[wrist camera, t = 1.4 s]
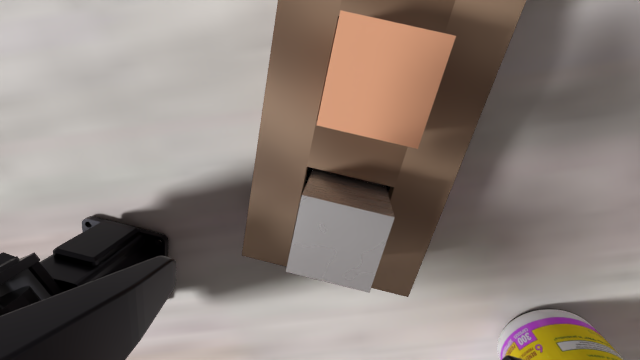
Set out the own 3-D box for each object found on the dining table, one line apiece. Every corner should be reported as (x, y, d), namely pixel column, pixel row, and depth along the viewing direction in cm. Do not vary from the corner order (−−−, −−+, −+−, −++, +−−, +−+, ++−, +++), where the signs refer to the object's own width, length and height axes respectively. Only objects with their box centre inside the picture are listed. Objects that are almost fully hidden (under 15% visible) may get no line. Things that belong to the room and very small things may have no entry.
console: (398, 257, 21) (408, 297, 17) (261, 223, 21) (241, 255, 17) (544, -146, 13) (619, -233, 10) (328, -189, 14) (319, -290, 10)
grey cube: (366, 248, 17) (369, 292, 14) (299, 232, 17) (285, 271, 14) (385, 185, 16) (394, 217, 12) (313, 168, 16) (301, 194, 12)
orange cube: (402, 131, 15) (417, 148, 11) (325, 113, 15) (316, 125, 11) (429, 46, 14) (456, 35, 10) (343, 27, 14) (340, 10, 10)
